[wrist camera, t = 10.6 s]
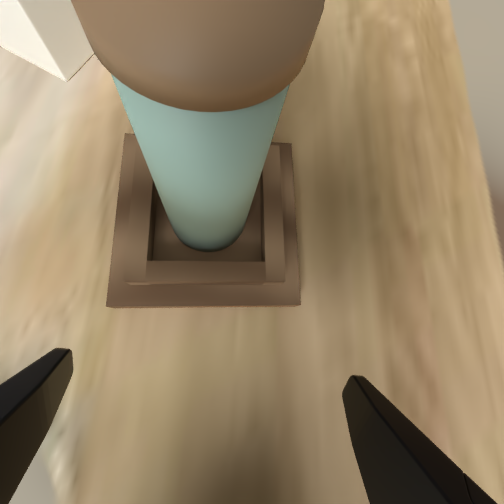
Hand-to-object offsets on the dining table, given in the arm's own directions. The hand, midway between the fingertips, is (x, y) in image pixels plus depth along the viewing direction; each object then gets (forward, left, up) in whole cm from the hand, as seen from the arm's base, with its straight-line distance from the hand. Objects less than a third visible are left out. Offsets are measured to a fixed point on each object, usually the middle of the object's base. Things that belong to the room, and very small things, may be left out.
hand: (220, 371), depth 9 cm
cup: (+2, +9, -8) cm, 12 cm away
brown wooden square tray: (+2, +9, -10) cm, 13 cm away
